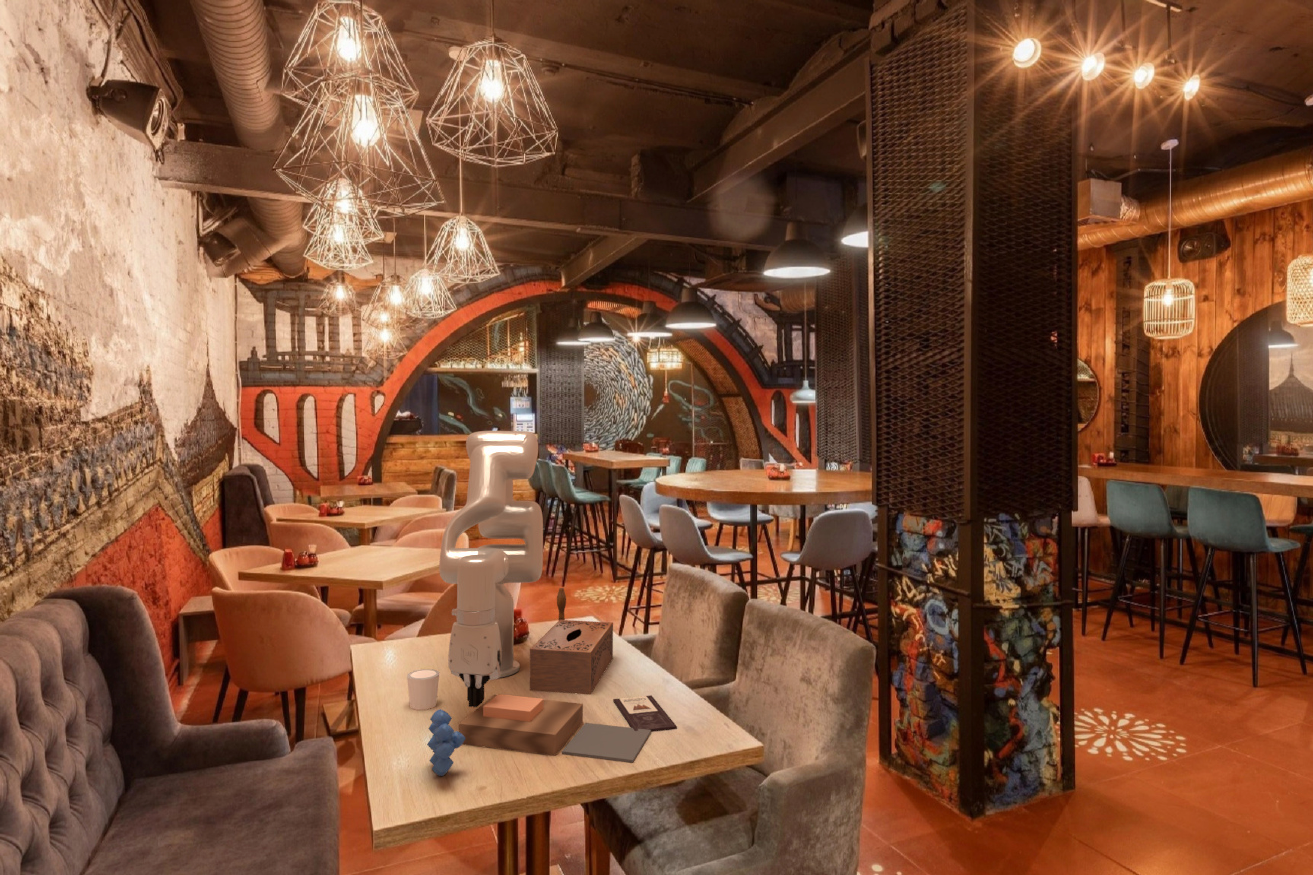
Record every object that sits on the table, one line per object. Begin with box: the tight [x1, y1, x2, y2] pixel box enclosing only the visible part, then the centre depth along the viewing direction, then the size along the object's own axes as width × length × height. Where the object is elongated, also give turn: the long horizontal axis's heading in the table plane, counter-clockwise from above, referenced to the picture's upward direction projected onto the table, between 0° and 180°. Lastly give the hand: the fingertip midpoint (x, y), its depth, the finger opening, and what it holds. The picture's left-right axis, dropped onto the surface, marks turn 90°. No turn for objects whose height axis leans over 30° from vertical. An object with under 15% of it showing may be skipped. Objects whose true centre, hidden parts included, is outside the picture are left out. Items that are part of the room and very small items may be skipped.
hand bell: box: [556, 587, 567, 621], centre depth 214 cm, size 8×8×16 cm
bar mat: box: [561, 722, 652, 764], centre depth 152 cm, size 14×14×1 cm
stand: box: [458, 694, 584, 756], centre depth 156 cm, size 20×16×4 cm
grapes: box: [427, 709, 466, 777], centre depth 138 cm, size 12×7×12 cm, turn 24°
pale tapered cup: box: [406, 668, 440, 711], centre depth 170 cm, size 7×7×7 cm
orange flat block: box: [483, 693, 544, 722], centre depth 156 cm, size 10×7×2 cm
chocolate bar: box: [612, 695, 678, 733], centre depth 166 cm, size 9×1×18 cm
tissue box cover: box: [529, 619, 614, 695], centre depth 191 cm, size 26×14×10 cm, turn 172°
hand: (475, 704), depth 158 cm, fingers closed
